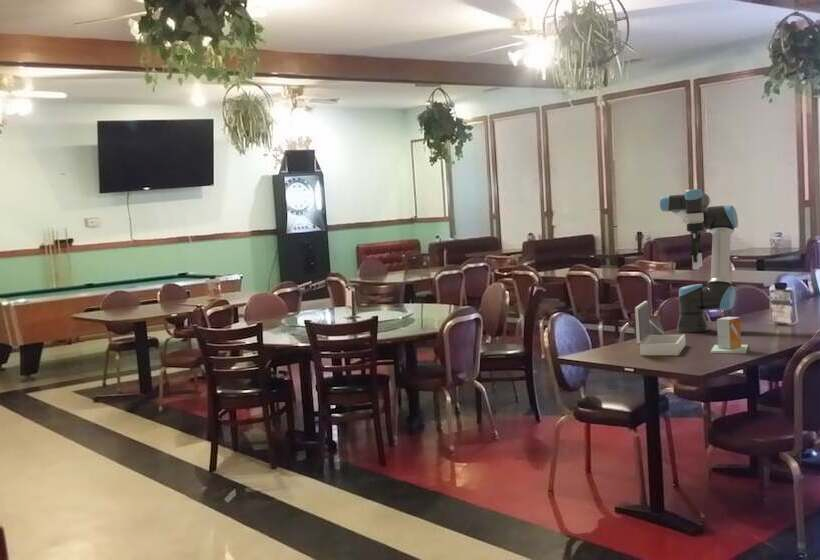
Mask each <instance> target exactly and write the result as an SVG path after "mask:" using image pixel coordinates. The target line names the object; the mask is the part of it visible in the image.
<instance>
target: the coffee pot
mask: <svg viewBox="0 0 820 560" xmlns="http://www.w3.org/2000/svg"><path fill="white" fill-rule="evenodd" d="M663 310H664V308H660V309H659V312H658V314H657V315H649V320H650V321H651V322H652V323H653V324H655V325H656V326H657V327H658V328H659V329H660V330H661V331H662V332H663V333H664V334H662V333H661V332H660V331H659V330H658V329H656V328H655V327H654V326H653V325H652V324H651V323H650V334H649V335H667V333H666V331H665V330H664V328H663V325H662V323H661V322H660V320H661V318H662V316H661V315H662V313H664V312H665V310H664V311H663Z"/></svg>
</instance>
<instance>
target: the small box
mask: <svg viewBox="0 0 820 560" xmlns="http://www.w3.org/2000/svg"><path fill="white" fill-rule="evenodd" d="M716 328H717V332H716V333H717V345H718V348H723V349H732V348H737V347H741V345H742V336H741V317H737V316H726V317H720V318H716Z"/></svg>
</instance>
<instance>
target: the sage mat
mask: <svg viewBox="0 0 820 560" xmlns="http://www.w3.org/2000/svg"><path fill="white" fill-rule="evenodd" d="M748 348H749V344H741V347H737V348H732V349H723V348H718V344H713V347H712V348H711V350H710V354H747V350H748Z"/></svg>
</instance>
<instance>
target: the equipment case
mask: <svg viewBox="0 0 820 560" xmlns="http://www.w3.org/2000/svg"><path fill="white" fill-rule="evenodd" d="M649 307H650V305H649V302H648V300H644V301H643V302H641V303H639V304H638V305H636V306H635V307H634V312H635V313H634V315H635V316H634V317H635V318H634V319H635V331H636V332H635V334H636V345H637V346H639V352H640V356H679V355H680V353H681V352H682V351H683V349H684V348H685V347H686V334H666V335H649V334H650V323H651V324H652V325H653V326H654V327H655V328H656V329H658V330H659V331H660V332H661V333H662V334H664V333H663V332H662V331H661V330H660V329H659V328H658V327H657V326H656V325H655V324H653V323H652V322H651V321H650V320H649V316H650V308H649Z"/></svg>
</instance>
